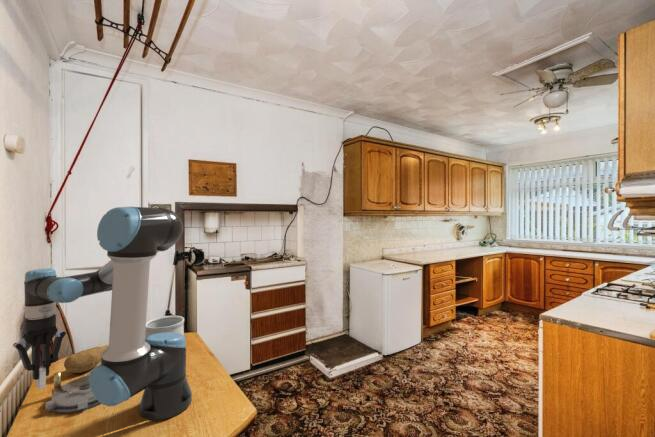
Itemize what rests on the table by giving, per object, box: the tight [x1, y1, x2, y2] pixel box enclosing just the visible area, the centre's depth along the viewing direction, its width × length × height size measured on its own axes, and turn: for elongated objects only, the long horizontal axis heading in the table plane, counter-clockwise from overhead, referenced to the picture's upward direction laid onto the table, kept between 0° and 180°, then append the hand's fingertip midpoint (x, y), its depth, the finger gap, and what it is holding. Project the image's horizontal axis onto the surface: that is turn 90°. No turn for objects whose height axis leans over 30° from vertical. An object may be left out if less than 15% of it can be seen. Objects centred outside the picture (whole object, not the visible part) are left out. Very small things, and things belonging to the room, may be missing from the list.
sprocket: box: [45, 371, 98, 411], centre depth 104 cm, size 21×20×7 cm
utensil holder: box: [145, 315, 185, 340], centre depth 127 cm, size 15×15×18 cm
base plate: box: [50, 401, 103, 415], centre depth 104 cm, size 19×19×1 cm
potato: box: [63, 346, 106, 374], centre depth 121 cm, size 10×14×8 cm
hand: (41, 387), depth 100 cm, fingers closed
